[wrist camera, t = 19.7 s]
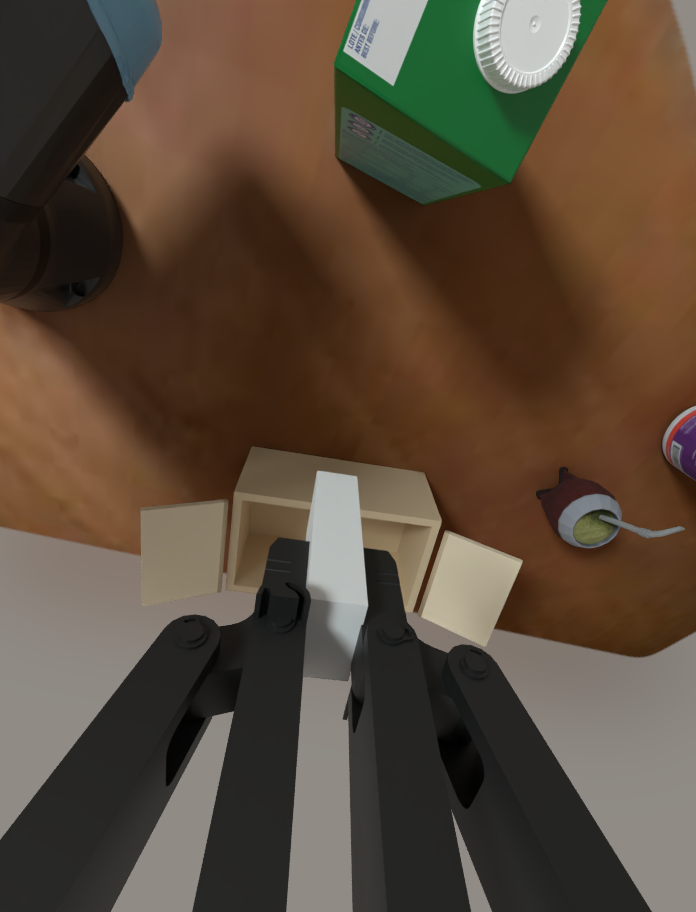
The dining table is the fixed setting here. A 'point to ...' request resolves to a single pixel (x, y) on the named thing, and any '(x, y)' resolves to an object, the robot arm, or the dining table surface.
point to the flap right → (468, 587)
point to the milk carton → (451, 88)
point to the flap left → (182, 550)
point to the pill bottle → (682, 442)
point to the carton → (289, 502)
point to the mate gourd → (587, 512)
